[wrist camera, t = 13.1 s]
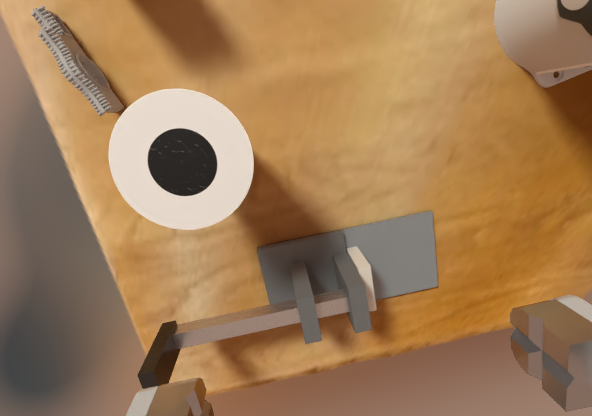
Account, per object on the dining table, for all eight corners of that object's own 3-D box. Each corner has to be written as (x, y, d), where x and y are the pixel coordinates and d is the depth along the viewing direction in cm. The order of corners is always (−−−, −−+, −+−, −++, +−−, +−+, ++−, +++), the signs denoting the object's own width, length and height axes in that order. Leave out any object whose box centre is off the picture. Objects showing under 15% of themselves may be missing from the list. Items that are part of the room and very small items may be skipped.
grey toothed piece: (46, 20, 38) (8, 4, 32) (59, 11, 38) (23, -6, 32) (117, 116, 41) (94, 116, 36) (129, 108, 41) (108, 107, 36)
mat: (431, 210, 48) (432, 211, 48) (436, 285, 52) (438, 286, 51) (341, 229, 48) (342, 230, 47) (353, 303, 51) (353, 304, 51)
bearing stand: (341, 229, 48) (361, 261, 38) (353, 303, 51) (375, 350, 41) (257, 247, 47) (255, 283, 37) (274, 320, 51) (277, 372, 41)
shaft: (346, 283, 42) (366, 324, 34) (350, 305, 43) (370, 351, 35) (162, 323, 41) (137, 375, 33) (170, 345, 42) (147, 400, 34)
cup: (174, 92, 41) (108, 77, 24) (262, 104, 42) (261, 100, 25) (170, 178, 44) (108, 222, 26) (253, 188, 45) (246, 235, 28)
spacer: (357, 246, 48) (370, 265, 42) (362, 285, 50) (376, 310, 44) (346, 248, 48) (357, 268, 42) (352, 288, 50) (364, 312, 44)
